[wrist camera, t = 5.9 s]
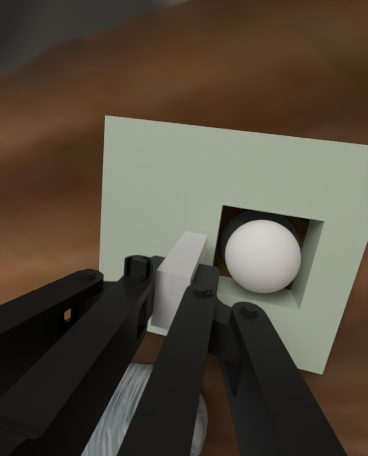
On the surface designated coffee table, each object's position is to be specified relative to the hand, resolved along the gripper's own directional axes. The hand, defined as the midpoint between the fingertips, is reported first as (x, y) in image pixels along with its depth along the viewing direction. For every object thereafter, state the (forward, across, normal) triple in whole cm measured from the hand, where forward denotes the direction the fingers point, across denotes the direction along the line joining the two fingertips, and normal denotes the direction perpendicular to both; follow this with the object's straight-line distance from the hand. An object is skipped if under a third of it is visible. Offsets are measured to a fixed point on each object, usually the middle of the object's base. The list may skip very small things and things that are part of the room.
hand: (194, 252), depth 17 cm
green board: (+4, +2, 0) cm, 5 cm away
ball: (+2, +4, 0) cm, 5 cm away
